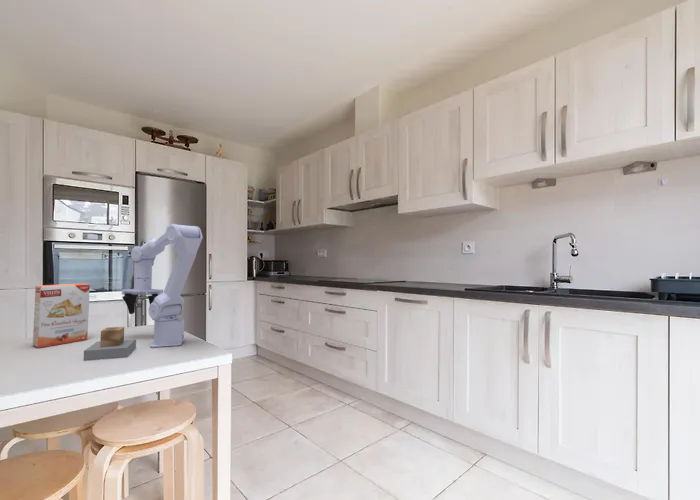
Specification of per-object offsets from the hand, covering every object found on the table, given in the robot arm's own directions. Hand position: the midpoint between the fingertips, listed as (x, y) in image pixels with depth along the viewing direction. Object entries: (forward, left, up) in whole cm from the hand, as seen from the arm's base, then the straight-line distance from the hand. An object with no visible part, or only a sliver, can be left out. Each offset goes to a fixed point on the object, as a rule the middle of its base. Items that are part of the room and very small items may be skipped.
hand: (142, 313), depth 125 cm
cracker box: (+25, -1, -10) cm, 27 cm away
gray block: (+4, +19, -10) cm, 22 cm away
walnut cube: (+4, +19, -6) cm, 20 cm away
